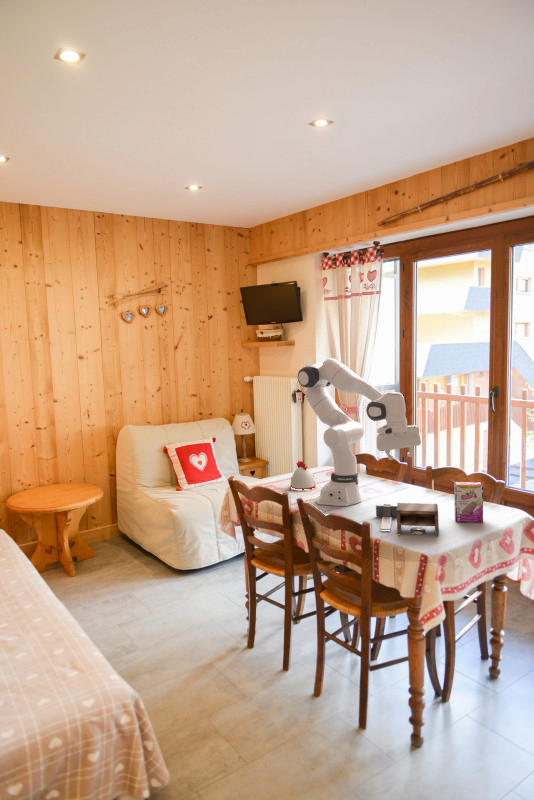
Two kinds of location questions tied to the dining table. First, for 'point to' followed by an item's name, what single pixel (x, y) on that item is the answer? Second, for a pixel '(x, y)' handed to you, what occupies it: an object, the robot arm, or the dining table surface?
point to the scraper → (386, 515)
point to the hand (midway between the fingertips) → (400, 458)
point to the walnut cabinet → (417, 515)
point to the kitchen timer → (302, 478)
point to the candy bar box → (468, 501)
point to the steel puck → (418, 530)
